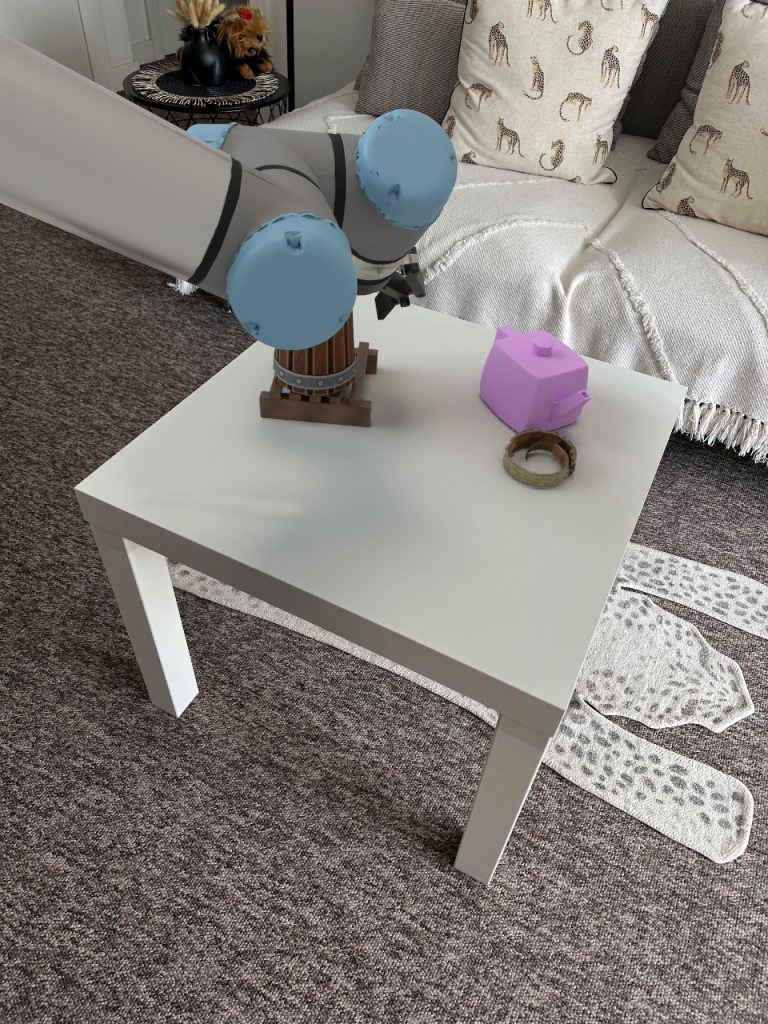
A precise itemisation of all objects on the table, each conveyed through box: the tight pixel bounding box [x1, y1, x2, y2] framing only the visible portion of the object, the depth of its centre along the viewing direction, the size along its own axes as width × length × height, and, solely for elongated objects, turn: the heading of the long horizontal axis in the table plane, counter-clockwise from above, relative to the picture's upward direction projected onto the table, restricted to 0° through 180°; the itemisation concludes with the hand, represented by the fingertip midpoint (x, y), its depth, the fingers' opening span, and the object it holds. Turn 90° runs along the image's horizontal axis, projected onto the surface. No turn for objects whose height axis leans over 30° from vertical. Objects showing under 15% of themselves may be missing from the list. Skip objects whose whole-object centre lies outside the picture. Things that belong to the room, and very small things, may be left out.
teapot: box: [479, 324, 593, 433], centre depth 92 cm, size 18×10×10 cm, turn 28°
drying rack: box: [258, 341, 379, 428], centre depth 94 cm, size 14×14×4 cm
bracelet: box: [502, 429, 578, 488], centre depth 86 cm, size 9×9×3 cm
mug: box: [272, 309, 356, 396], centre depth 87 cm, size 16×11×15 cm
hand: (324, 313), depth 85 cm, fingers open, 13 cm apart
